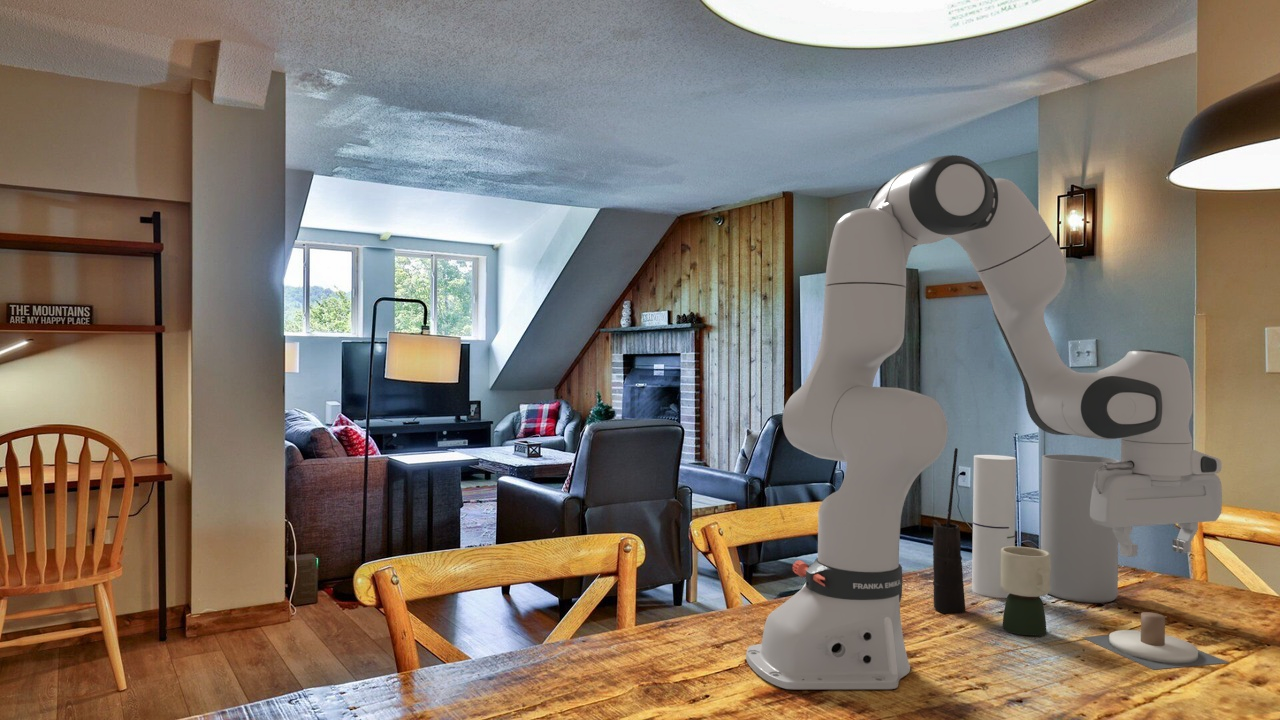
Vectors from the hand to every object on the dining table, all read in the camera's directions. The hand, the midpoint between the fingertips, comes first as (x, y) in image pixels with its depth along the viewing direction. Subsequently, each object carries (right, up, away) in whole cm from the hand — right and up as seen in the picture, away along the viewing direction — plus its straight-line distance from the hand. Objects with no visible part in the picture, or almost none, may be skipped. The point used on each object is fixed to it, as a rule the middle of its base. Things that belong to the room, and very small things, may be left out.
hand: (1155, 553), depth 118 cm
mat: (-1, -15, 0) cm, 15 cm away
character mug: (-16, -15, +8) cm, 23 cm away
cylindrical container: (-11, -15, +30) cm, 35 cm away
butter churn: (-24, -15, +20) cm, 34 cm away
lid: (-1, -14, 0) cm, 14 cm away
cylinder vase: (+5, -15, +30) cm, 34 cm away
